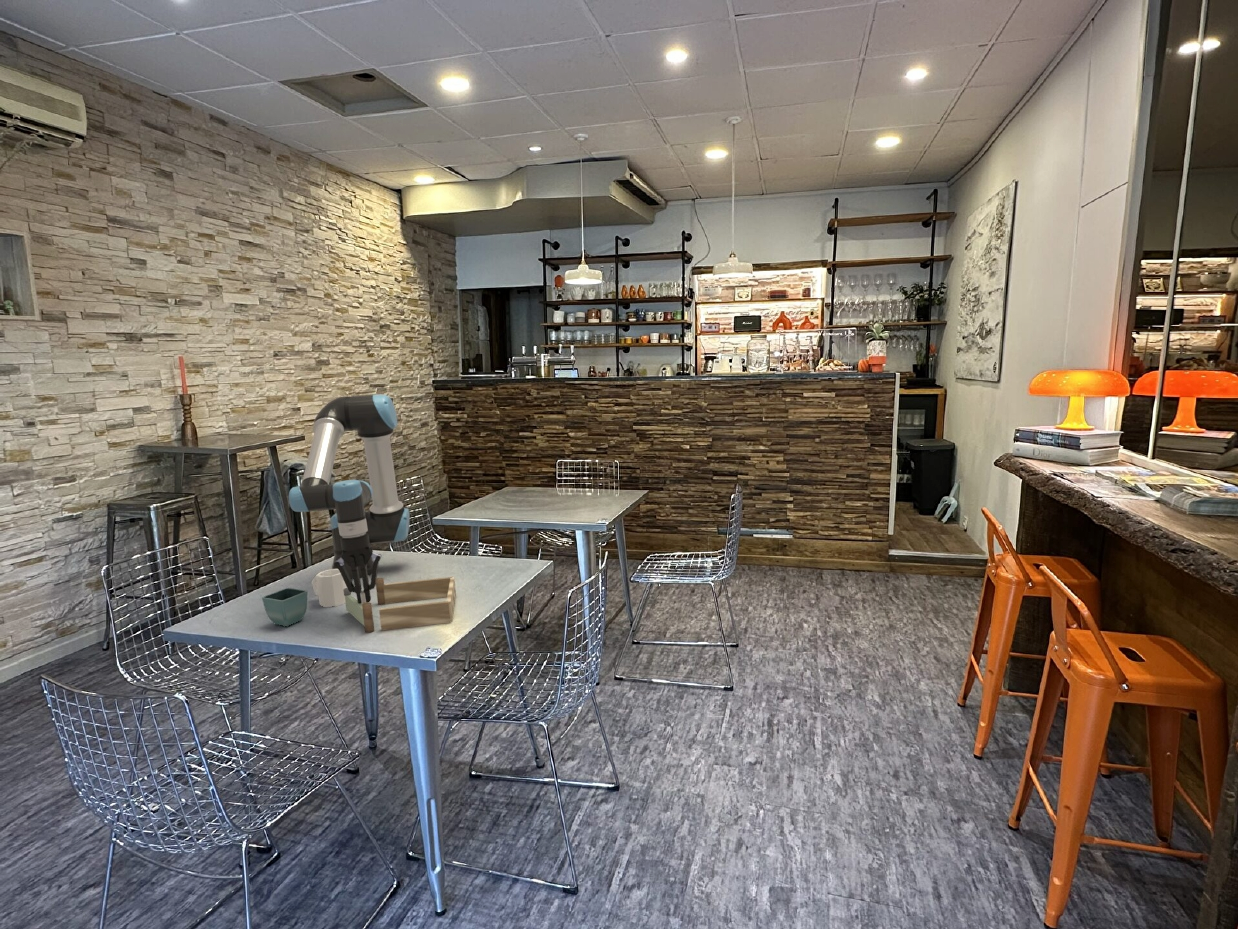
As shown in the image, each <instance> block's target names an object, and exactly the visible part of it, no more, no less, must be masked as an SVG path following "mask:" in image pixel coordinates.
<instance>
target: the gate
mask: <svg viewBox="0 0 1238 929" xmlns="http://www.w3.org/2000/svg"><path fill="white" fill-rule="evenodd" d="M343 590H344V596H345V602H346V603H345V608H346V611H347V612H348V613H349V614H350V615H352V616H353V617H354V619H356V620H357V621H358V622H359V623H360V624H362V626H364V617H363V609H362V603H360V604H359V603H358V601H357V598H355V597H354V596H353V595H352V592H349V590H348V588H345V589H343Z"/></svg>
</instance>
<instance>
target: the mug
mask: <svg viewBox="0 0 1238 929" xmlns="http://www.w3.org/2000/svg"><path fill="white" fill-rule="evenodd" d="M310 583H311V586H312V588H313V592H314V595H315V596H318V602H319V606H320V605H321V607H322V606H323V607H322V608H330V607H331V608H333V607H332V606H335V607H338V606H341V605H344V604H345V605H346V602H345V596H344V590H343V589H345V588H347V586H346V584H345V582H344V580H343V577H342V575H341V573H340V571H339V569H332V568H330V569H325V570H322V571H320V572H319V573H317V574H315V576H314V578H313V579H312V581H311V582H310Z"/></svg>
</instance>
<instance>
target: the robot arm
mask: <svg viewBox="0 0 1238 929" xmlns="http://www.w3.org/2000/svg"><path fill="white" fill-rule="evenodd" d="M397 418H398V417H397V411H396V407H395V405H394V402H393V400H392V399H391V397H390V396H388V395H386V394H365V395H351V396H350V395H349V396H348V395H347V396H344V395H343V396H339V397H337V398H334V399H332V400H331V401H329V402H328V403H326V404H325V405H324V406H323V407H322V408H321V409H320V410H319V412H318V413H317V415H316V416H315V418H314V421H313V424H312V431H313V433H314V434H313V438H312V442H311V446H310V449H309V450H310V451H309V453H308V458H307V460H306V466H305V469H304V473H303V477H302V480H301V484H300V485H297V486H293V487H292V488H290V490H289V493H288V503H289V506H290V508H291V510H292V511H294V512H296V513H300V512H301V513H302V512H303V513H304V512H305V513H306V512H307V513H309V512H319V511H328V510H335V514H333V515H332V516H331V518H330V526H331V527H330V530H331V538H332V545H333V553H334V554H333V555H334V556H333V560H332V564H331V569H339V571H340V573H341V575H342V577H343V580H344V582H345V584H346V586H347V588H348V590H349V592H351V593H355V594H356V600H357V601H358V603H359V604H360V603H361V604H363V603H367V602H370V603H371V600H372V596H371V590H374V589H375V588H376V579H377V577H378V568H379V562H380V560H381V559H382V554H381V553H379V554H378V553H375V552H374V550H373V549H372V548H371V545H372V544H382V543H383V544H385V543H386V544H387V543H396V542H403V541H406V540H407V538H408V534H409V532H410V531H409V530H410V509H409V508H406V507H405V508H404V502H402V501H401V500H399V496H398V489H397V482H396V473H395V466H394V460H393V453H392V446H391V438H390V437H391V436H392V435H393V434H394V429H395V428H397V426H398V419H397ZM347 431H348V432H349V431H356V432H357V437H359V438H360V439H361V440H363V446H364V453H365V460H366V466H367V473H368V478H369V482H367V481H364V480H357V479H347V480H341V481H337V482H335V483H332V484H330V482H331V478H332V473H333V468H334V465H335V460H336V455H337V451H338V446H339V442H340V438H342V437H343V436H344V434H345V432H347ZM371 499H372V504H371V506H370V507H369V509H368V510H369V511H366V509H365V506H367V504H369V502H370V501H371ZM370 575H371V577H370V580H369V576H370ZM360 578H361V579H362V584H361V579H360ZM362 587H363V588H362Z"/></svg>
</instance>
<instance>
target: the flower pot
mask: <svg viewBox="0 0 1238 929" xmlns="http://www.w3.org/2000/svg"><path fill="white" fill-rule="evenodd" d="M261 599H262V603H263V607H264V611H265V613H266V615H267V617H268V618H269V620H270V621H271V622H272V623H273V624H274V623H275V624H279V625H278V626H280V625H283V626H282V627H285V626H287V627H289V626H288V625H290V626H291V624H292V625H293V623H294V624H296V622H297V623H299V622H301V621H302V620H303V618H304V616H305V614H306V611H307V608H308V590H306V589H305V590H304V589H297V588H291V587H285V588H284V589H280V590H278V591H275V592H273V593H271V594H268V595H265V596H262V597H261ZM298 621H299V622H298ZM275 624H274V625H275Z"/></svg>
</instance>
